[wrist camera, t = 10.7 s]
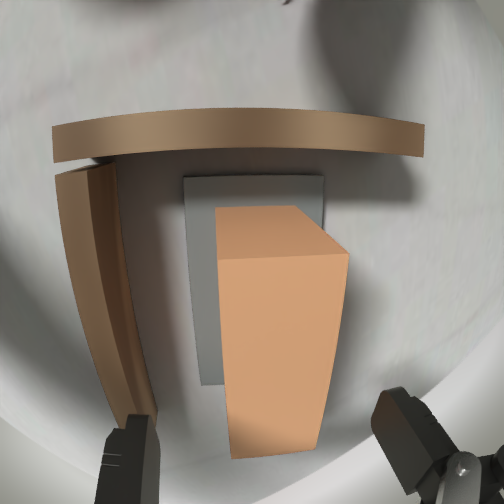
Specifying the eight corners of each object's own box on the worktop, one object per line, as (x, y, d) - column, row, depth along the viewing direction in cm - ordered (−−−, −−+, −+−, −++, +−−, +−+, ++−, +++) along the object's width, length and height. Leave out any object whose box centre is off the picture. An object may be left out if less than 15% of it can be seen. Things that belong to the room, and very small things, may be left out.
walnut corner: (137, 410, 20) (130, 452, 17) (87, 127, 14) (52, 126, 10) (345, 395, 22) (363, 432, 18) (382, 124, 16) (424, 124, 12)
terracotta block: (215, 207, 16) (217, 259, 9) (295, 205, 16) (349, 253, 10) (223, 367, 19) (231, 459, 13) (286, 362, 20) (315, 449, 13)
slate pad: (201, 381, 20) (201, 385, 20) (184, 176, 15) (183, 177, 15) (305, 373, 21) (306, 376, 20) (321, 175, 16) (324, 175, 16)
